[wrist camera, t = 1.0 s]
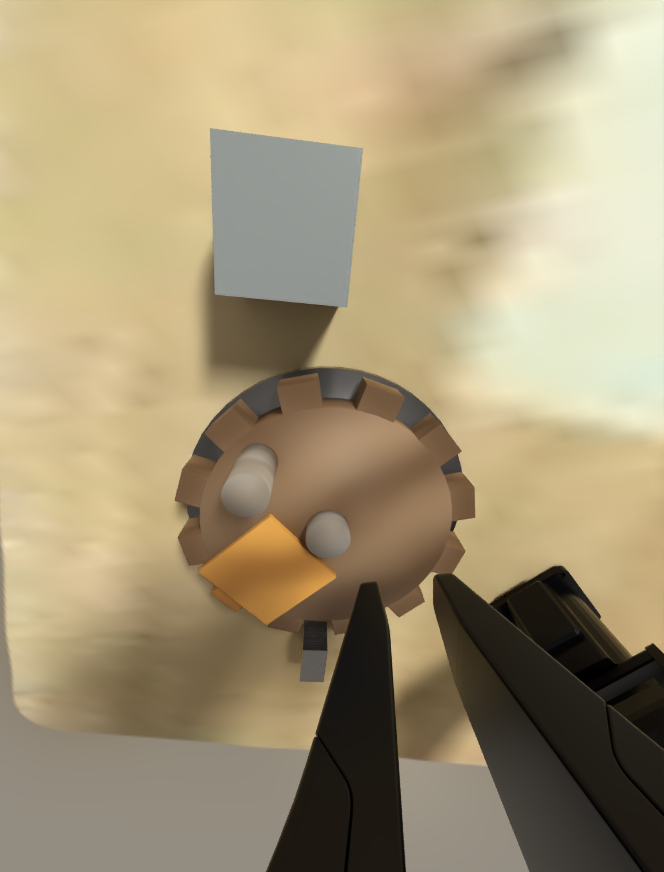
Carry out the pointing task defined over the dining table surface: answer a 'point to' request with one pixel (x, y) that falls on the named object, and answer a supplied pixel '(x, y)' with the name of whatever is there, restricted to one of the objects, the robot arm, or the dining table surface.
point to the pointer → (313, 651)
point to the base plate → (332, 386)
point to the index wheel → (323, 505)
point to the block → (283, 217)
